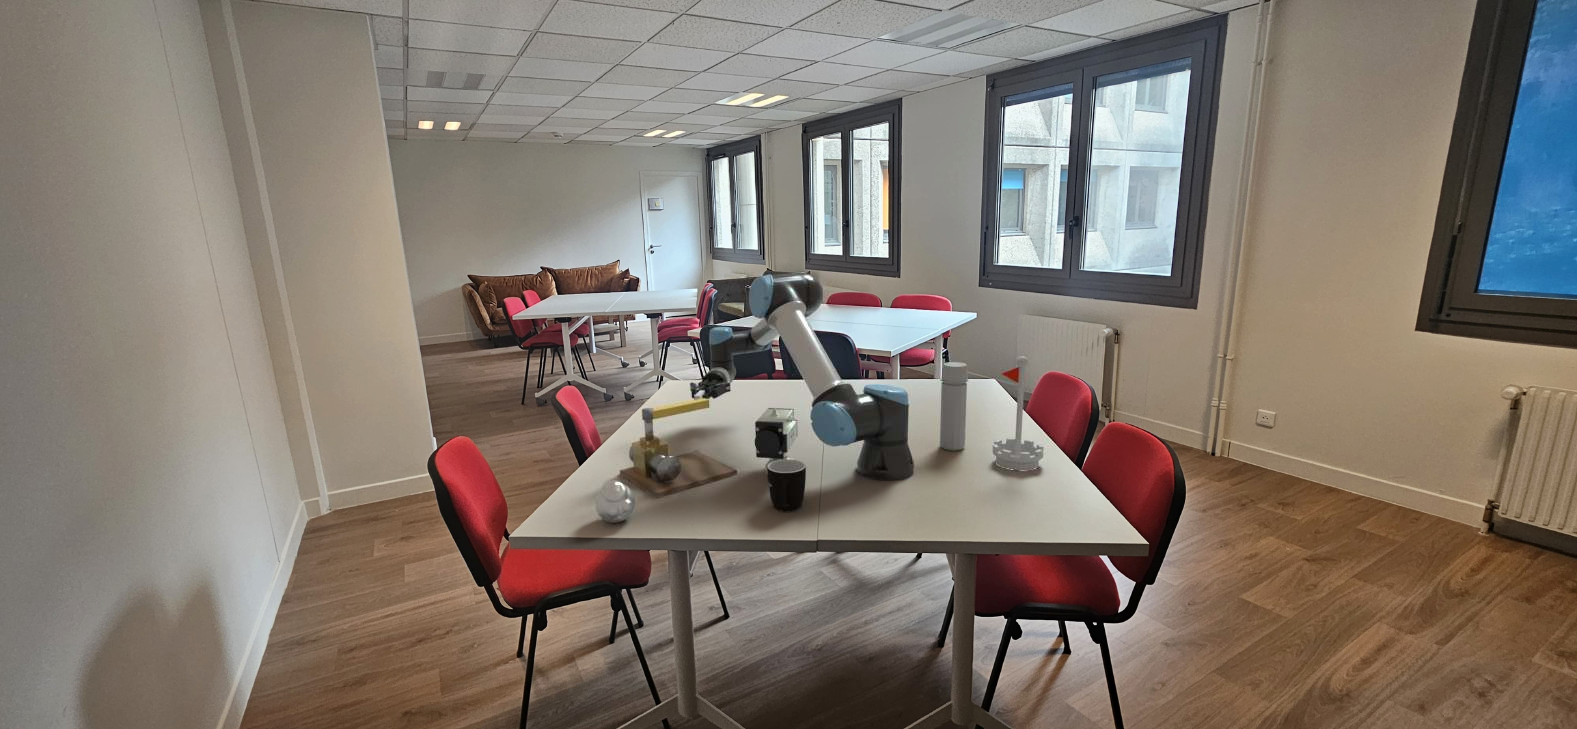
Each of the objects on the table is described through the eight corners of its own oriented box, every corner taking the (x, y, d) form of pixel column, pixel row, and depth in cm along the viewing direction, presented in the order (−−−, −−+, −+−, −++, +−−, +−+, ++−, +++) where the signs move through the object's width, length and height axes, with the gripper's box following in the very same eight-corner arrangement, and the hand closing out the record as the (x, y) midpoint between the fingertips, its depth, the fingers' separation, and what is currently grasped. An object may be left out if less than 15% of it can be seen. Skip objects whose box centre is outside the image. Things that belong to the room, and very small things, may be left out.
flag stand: (1044, 459, 184) (1050, 353, 178) (1040, 475, 172) (1047, 362, 166) (995, 453, 189) (1000, 350, 183) (988, 469, 177) (993, 359, 171)
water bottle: (967, 452, 191) (970, 367, 186) (939, 451, 192) (941, 366, 187) (964, 441, 200) (966, 360, 195) (937, 441, 201) (939, 360, 196)
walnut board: (656, 497, 163) (655, 493, 163) (620, 474, 179) (619, 470, 179) (737, 474, 178) (736, 469, 177) (697, 454, 194) (696, 450, 193)
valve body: (658, 486, 167) (655, 432, 164) (628, 468, 180) (625, 418, 177) (682, 479, 171) (679, 427, 168) (652, 462, 184) (649, 413, 182)
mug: (771, 498, 161) (770, 458, 159) (808, 499, 160) (807, 459, 158) (763, 519, 150) (762, 477, 148) (803, 520, 149) (802, 478, 147)
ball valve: (787, 486, 168) (785, 419, 165) (754, 484, 170) (752, 418, 167) (801, 462, 186) (799, 400, 182) (771, 460, 187) (769, 399, 184)
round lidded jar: (589, 529, 146) (585, 487, 144) (606, 511, 156) (602, 471, 154) (628, 531, 145) (624, 488, 143) (643, 513, 154) (640, 472, 152)
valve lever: (645, 421, 172) (645, 411, 172) (640, 418, 174) (639, 409, 174) (709, 407, 184) (709, 398, 183) (704, 405, 186) (703, 396, 186)
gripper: (736, 393, 211) (720, 413, 188) (696, 392, 212) (675, 413, 189) (735, 370, 209) (718, 387, 186) (695, 369, 211) (673, 387, 188)
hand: (697, 400), depth 188 cm, fingers closed
